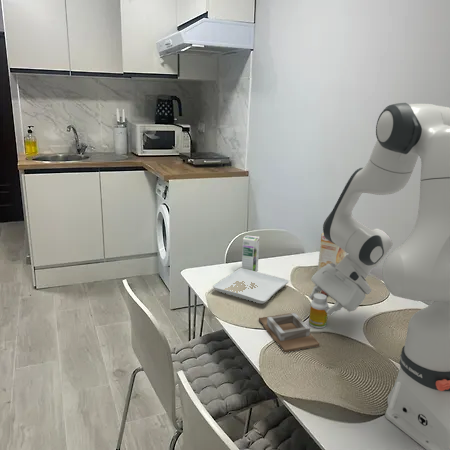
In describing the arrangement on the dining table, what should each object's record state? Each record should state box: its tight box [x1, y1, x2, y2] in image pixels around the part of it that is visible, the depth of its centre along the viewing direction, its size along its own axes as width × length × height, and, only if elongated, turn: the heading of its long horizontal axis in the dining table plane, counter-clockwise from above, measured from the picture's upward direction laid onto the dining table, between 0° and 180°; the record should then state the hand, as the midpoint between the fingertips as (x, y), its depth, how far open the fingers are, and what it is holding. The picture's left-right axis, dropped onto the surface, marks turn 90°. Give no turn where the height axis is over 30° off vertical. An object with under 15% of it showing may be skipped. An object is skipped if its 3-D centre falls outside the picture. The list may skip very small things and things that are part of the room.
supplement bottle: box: [308, 292, 329, 329], centre depth 129 cm, size 5×5×10 cm
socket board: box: [258, 312, 320, 353], centre depth 125 cm, size 18×11×4 cm, turn 19°
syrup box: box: [241, 234, 261, 272], centre depth 167 cm, size 6×6×14 cm
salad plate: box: [212, 267, 289, 304], centre depth 152 cm, size 21×21×3 cm
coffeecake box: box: [317, 232, 348, 271], centre depth 162 cm, size 15×7×20 cm, turn 148°
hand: (318, 306), depth 129 cm, fingers open, 8 cm apart
